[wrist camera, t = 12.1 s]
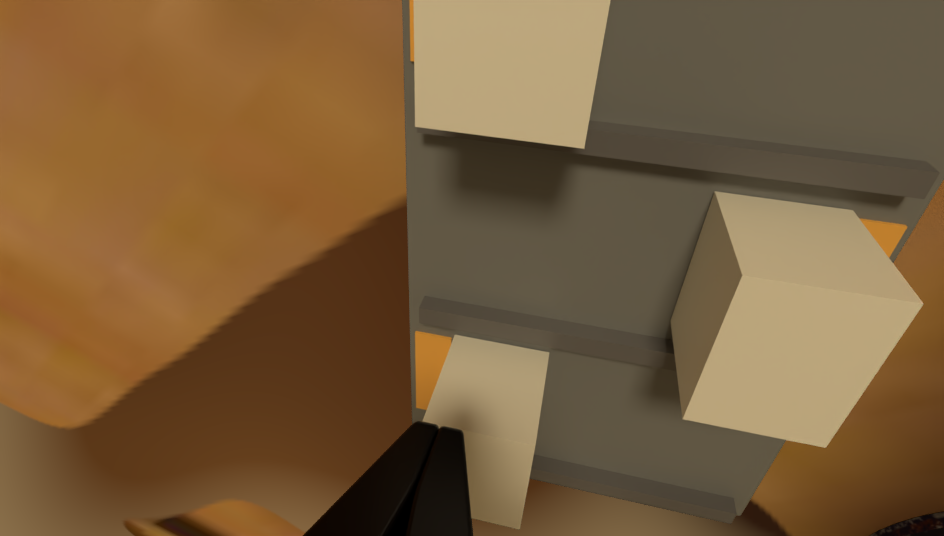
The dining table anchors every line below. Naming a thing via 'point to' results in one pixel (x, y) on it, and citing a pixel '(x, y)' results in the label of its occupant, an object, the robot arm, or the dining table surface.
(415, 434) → the robot arm
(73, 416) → the dining table surface
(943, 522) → the storage jar
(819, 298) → the tab
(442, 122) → the tab
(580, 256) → the switch bank
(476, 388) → the cream block
